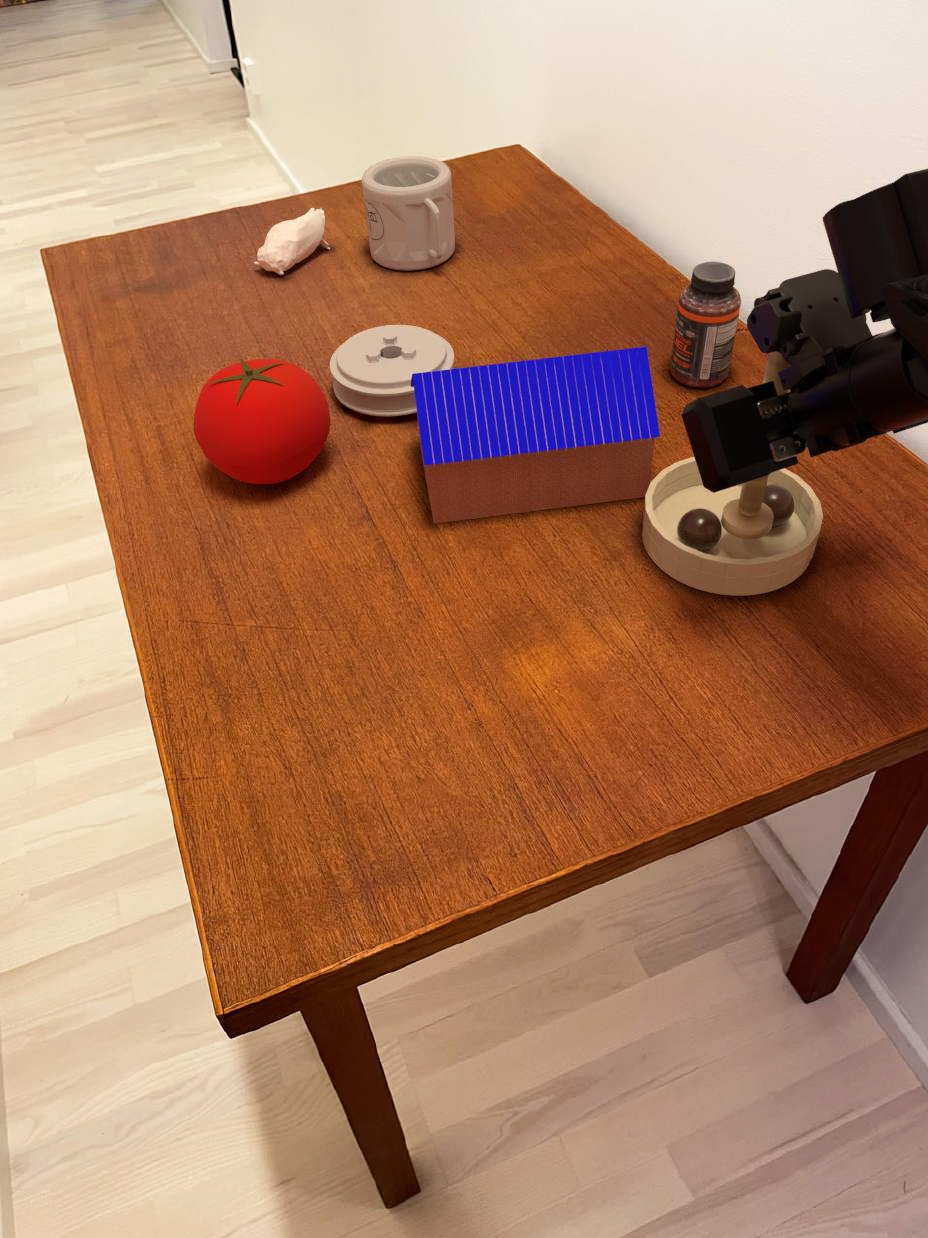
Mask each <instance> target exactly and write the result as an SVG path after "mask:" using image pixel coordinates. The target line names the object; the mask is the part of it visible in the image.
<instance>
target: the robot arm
mask: <svg viewBox="0 0 928 1238" xmlns="http://www.w3.org/2000/svg"><path fill="white" fill-rule="evenodd" d="M822 224H823V226H824V229H825V233H826V236H827V240H828V243H829V246H830V251H831V254H832V257H833V260H834V263H835V266H836V267H835V268H836V270H837V271H836V270H833V269H829V268H826V269H825V268H824V269H820V270H817V271H813V272H809V273H806V274H802V275H798V276H795V277H791V278H787V279H785V280H783V281H782V282H781V283H780V284H779V286H778V287H775V288H772V289H768V290H767V292H766V293H765V295H763V296H759V297H756V298H755V299H754V301H753V308H752V310H751V311H750V313H749V315H748V316H747V319H746V328H747V331H748V332H749V334H750V335H751V337H752V339H753V340H754V343H755V344H756V345H757V347H758V349H759V351H760V352H761V353H762V354H768V355H769V353H772V352H779V353H781V355H782V356H783V358H784V359H785V360H786V361H787V362H788V363H789V364H790V365H791V366H790V367H788V368H786V369H784V370H782V371H780V372H778V374H779V377H780V381H781V384H782V387H783V389H784V390H788V392H787V393H785V394H782V395H779V396H778V394H777V391H776V388H775V384H774V381H770V382H767V383H763V382H762V383H759V384H757V385H754V386H750V387H746V386H745V385H744V384H741V385H737V386H734V387H731V388H727V389H724V390H721V391H717V392H714V393H710V394H707V395H704V396H700V397H698V398H696V399H694V400H692V401H690V402H688V403H686V404H685V406H684V408H683V410H682V412H681V415H680V416H681V418H682V421H683V426H684V428H685V431H686V434H687V438H688V442H689V444H690V447H691V450H692V454H693V457H695V460H696V464H697V467H698V470H699V473H700V476H701V480H702V483H703V486H704V488H706V489H708V490H709V491H711V492H713V493H715V492H718V491H721V490H724V489H728V488H731V487H734V486H737V485H740V484H743V483H746V482H749V481H752V480H755V479H758V478H761V477H764V476H767V475H770V474H771V473H772V472H775V471H778V470H781V469H784V468H785V469H787V468H790V467H792V466H796V465H798V464H799V459H798V457H797V456H799V455H802V454H803V453H805V451H806V450H808V453H809V456H810V458H814V457H817V456H820V455H823V454H826V453H830V452H839V451H842V450H845V449H848V448H850V447H854V446H856V445H860V444H863V443H865V442H867V440H869V439H872V438H875V437H878V436H881V435H884V434H887V433H890V432H892V433H893V435H895V434H897V433H901V432H903V431H907V430H910V429H912V428H916V427H919V426H922V425H926V424H928V168H924V169H920V170H917V171H912V172H908V173H904V174H903V175H902V176H900V177H899V178H897V179H896V180H894V181H893V182H891V183H888V184H885V185H883V186H880V187H877V188H874V189H873V190H871V191H868V192H866V193H864V194H861V195H860V196H858V197H856V198H853V199H850V200H846V201H842V202H840V203H838V204H836V205H835V206H833V207H832V208H830V209H829V210H828V211H827V212H825V214H824V215H823V216H822ZM868 313H869V315H870V319H871V322H872V323H879V322H882V321H887V320H890V324H891V326H892V327H893V328H891V329H889V330H886V331H883V332H880V333H876V334H875V335H874V334H872V331H871V329H870V327H869V325H868V323H867V320H868V319H867V315H866V314H868Z"/></svg>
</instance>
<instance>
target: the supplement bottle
mask: <svg viewBox="0 0 928 1238" xmlns="http://www.w3.org/2000/svg"><path fill="white" fill-rule="evenodd" d="M735 279H736V270H735V268H734V267H733V266H732V265H730V264H727V263H725V262H721V261H705V262H701V263H699V264H697V265H696V266H694V267H693V269H692V273H691V278H690V283H689V284H688V285H686V286H685V287H683V289H682V290H681V291H680V294H679V297H678V303H677V310H676V317H675V318H676V319H675V326H674V334H673V341H672V347H671V348H672V349H671V358H670V368H669V369H670V370H669V371H670V373H671V376H672V377H673V378H674V379H675V380H676V381H677V382H679V383H680V384H682V385H685V386H686V387H692V388H701V389H703V388H704V389H705V388H711V387H715V386H718V385H720V384H721V383H723V382H725V380H726V379H727V378H728V375H729V370H730V367H731V361H732V356H733V350H734V345H735V339H736V334H737V328H738V324H739V323H738V322H739V316H740V310H741V304H742V298H741V294H740V292H739V290H738V289H737V288H736V287H734V286H735V283H736V281H735Z"/></svg>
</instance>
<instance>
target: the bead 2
mask: <svg viewBox="0 0 928 1238" xmlns="http://www.w3.org/2000/svg"><path fill="white" fill-rule="evenodd" d="M763 503H764V504H766V505H767V506H768V507H769V508H770V509H771V510H772V512H773V515H774V519H773V523H772V527H771V528H775V527H779V526H781V525H783V524H785V523H786V522H787V521H788V520H789V519H790V518H791V516H792V514H793V511H794V500H793V497H792V495H791V493H790V492H789V491H788V490H787V489H785V488H784V487H782V486H779V485H766V490H765V494H764V498H763Z"/></svg>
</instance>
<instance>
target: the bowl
mask: <svg viewBox="0 0 928 1238" xmlns="http://www.w3.org/2000/svg"><path fill="white" fill-rule="evenodd" d="M767 485H779V486H782V487H784V488H785V489H787V490H788V491H789V492H790V493H791V495H792V497H793V500H794V511H793V514H792V516H791V518H790V519H789V520H788V521H787V522H786V523H785V524H783V525H781V526H779V527H775V528H771V530H770V532H769V533H768V534H766V535H765V536H763V537H761V538H757V539H742V538H738V537H735V536H733V535H731V534H729V533H728V532H727V531H726V530H725V529H724V528H723V526H722V535H721V538H720V540H719V542H718V543H717V544H716V545H715V546H714V547H713V548H712V549H710V550H708V551H705V552H700V551H698V550H695V549H693V548H691V547H688V546H686V545H684V544H683V543H681V542H680V541H679V539H678V536H677V526H678V523H679V521H680V519H681V517H682V516H683V515H684V514H685V513H687V512H688V511H690V510H693V509H697V508H703V509H707V510H710V511H712V512H713V513H714V514H715V515H716V516H717V517H718V518H719V520H720V522H721V517H722V512H723V508H724V507H725V505H726V504H727V503H729V502H730V501H732V500H735V499H739V498H740V494H741V489H742V484H740V485H737V486H734V487H731V488H728V489H724V490H721V491H718V492H715V493H713V492H711V491H709V490H708V489H706V488H704V486H703V483H702V480H701V476H700V473H699V470H698V467H697V464H696V460H695V457H694V456H690V457H687V458H685V459H682V460H679V461H676V462H674V463H672V464H670V465H669V466H667V467H665V468H663V469H662V470H661V471H659V473H658V474H657V475H655V477H654V478H653V479H652V480H650V485H649V487H648V490H647V492H646V494H645V497H644V501H643V512H642V519H641V526H642V527H641V537H642V543H643V545H644V546H643V547H644V549H645V551H646V553H647V555H648V556H649V558H650V559H651V560H652V562H653V563H654V564H655V565H656V566H657V567H658V568H659V569H660V570H661V571H662V572H664V573H665V574H666V575H668V576H669V577H671V578H672V579H674V580H675V581H678V582H679V583H681V584H684V585H685V586H687V587H690V588H693V589H696V590H699V591H703V592H706V593H710V594H717V595H721V596H722V595H723V596H730V597H731V596H733V597H735V596H739V597H740V596H741V597H742V596H743V597H744V596H755V595H761V594H762V595H763V594H767V593H770V592H773V591H776V590H779V589H781V588H785V587H786V586H788V585H789V584H791V583H793V582H794V581H795V580H797V579H798V578H799V577H800V576H802V575H803V574H804V572H805V571H806V570H807V569H808V566H809V565H810V563H811V561H812V559H813V557H814V554H815V551H816V546H817V544H818V540H819V536H820V533H821V529H822V525H823V520H824V513H823V508H822V504H821V501H820V499H819V497H818V496H817V494H816V493H815V491H814V490H813V488H812V487H811V486H810V485H809V484H808V483H807V482H806V481H805V480H804V479H802V477H800V476H799V475H798V474H796V473H795V472H792V471H791V470H789V469H787V468H784V469H781V470H778V471H775V472H772V473H771V474H770V475H769V476H768V481H767ZM721 525H722V524H721Z"/></svg>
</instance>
